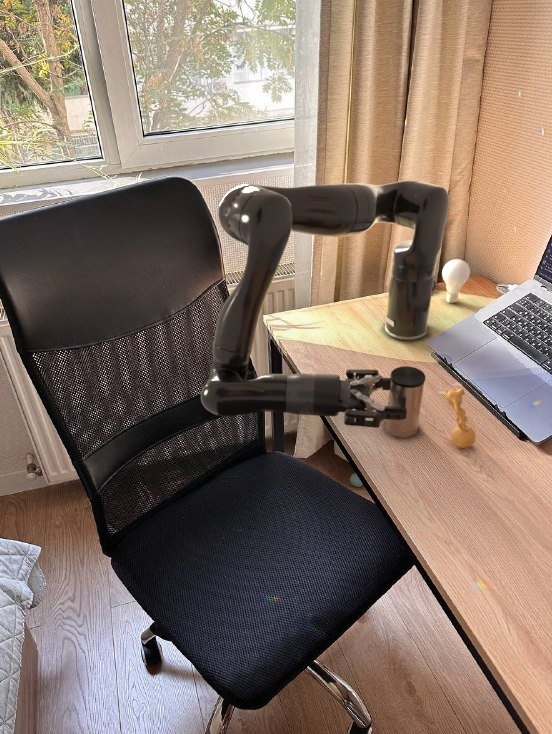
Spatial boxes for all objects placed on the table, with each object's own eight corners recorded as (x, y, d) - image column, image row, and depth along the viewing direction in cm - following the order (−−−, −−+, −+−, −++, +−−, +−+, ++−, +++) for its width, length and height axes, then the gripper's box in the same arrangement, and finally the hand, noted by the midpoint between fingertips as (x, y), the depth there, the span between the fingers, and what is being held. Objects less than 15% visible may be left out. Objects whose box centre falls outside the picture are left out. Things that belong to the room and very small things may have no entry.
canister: (384, 417, 109) (390, 365, 103) (416, 419, 109) (424, 366, 102) (385, 437, 105) (391, 384, 98) (418, 439, 104) (427, 385, 97)
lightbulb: (469, 301, 145) (476, 259, 139) (456, 310, 141) (464, 267, 135) (445, 294, 149) (452, 253, 142) (433, 303, 145) (439, 261, 139)
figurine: (478, 461, 99) (491, 404, 92) (441, 460, 99) (452, 403, 92) (468, 430, 105) (480, 375, 98) (434, 429, 106) (443, 374, 99)
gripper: (310, 401, 97) (410, 405, 95) (315, 355, 109) (404, 358, 106) (309, 435, 102) (405, 440, 99) (314, 388, 113) (400, 392, 111)
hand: (404, 398), depth 103 cm, fingers open, 8 cm apart
